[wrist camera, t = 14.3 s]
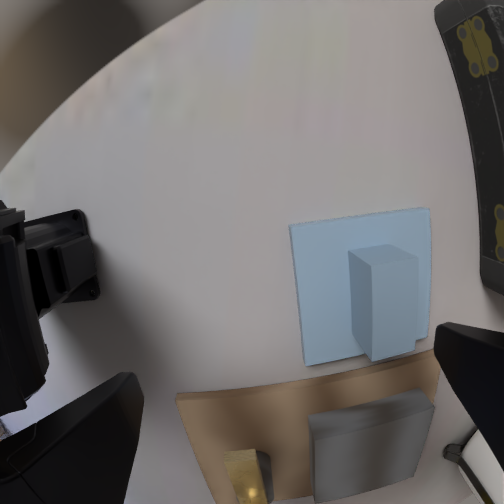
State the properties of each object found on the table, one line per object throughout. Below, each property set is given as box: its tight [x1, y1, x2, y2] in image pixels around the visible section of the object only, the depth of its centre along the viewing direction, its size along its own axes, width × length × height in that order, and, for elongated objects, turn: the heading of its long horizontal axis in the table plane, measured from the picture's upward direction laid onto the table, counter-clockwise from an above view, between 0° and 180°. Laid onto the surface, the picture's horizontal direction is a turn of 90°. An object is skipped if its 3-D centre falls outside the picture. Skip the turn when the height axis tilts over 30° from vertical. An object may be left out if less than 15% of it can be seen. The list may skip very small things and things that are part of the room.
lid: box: [288, 207, 431, 366], centre depth 19 cm, size 10×10×6 cm
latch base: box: [175, 349, 441, 504], centre depth 22 cm, size 22×16×6 cm
